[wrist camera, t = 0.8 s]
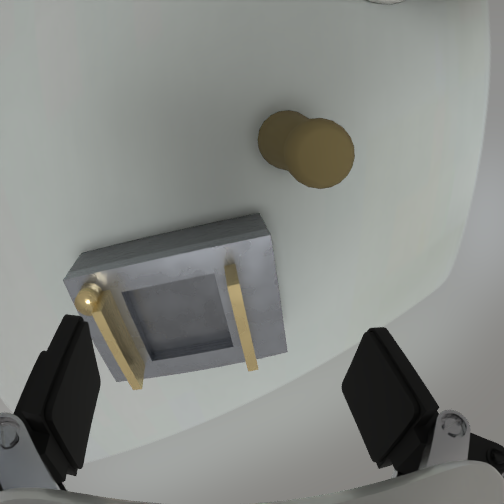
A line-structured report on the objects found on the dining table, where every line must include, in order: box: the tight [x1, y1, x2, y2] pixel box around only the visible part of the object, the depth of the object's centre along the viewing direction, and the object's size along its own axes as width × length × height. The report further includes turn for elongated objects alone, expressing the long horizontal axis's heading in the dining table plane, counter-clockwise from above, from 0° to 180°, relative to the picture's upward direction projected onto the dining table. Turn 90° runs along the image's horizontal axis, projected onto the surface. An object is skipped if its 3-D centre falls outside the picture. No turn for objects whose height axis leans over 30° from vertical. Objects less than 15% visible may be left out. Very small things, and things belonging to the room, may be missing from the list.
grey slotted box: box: [63, 213, 287, 390], centre depth 32 cm, size 20×14×10 cm
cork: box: [258, 110, 355, 189], centre depth 26 cm, size 6×6×11 cm
